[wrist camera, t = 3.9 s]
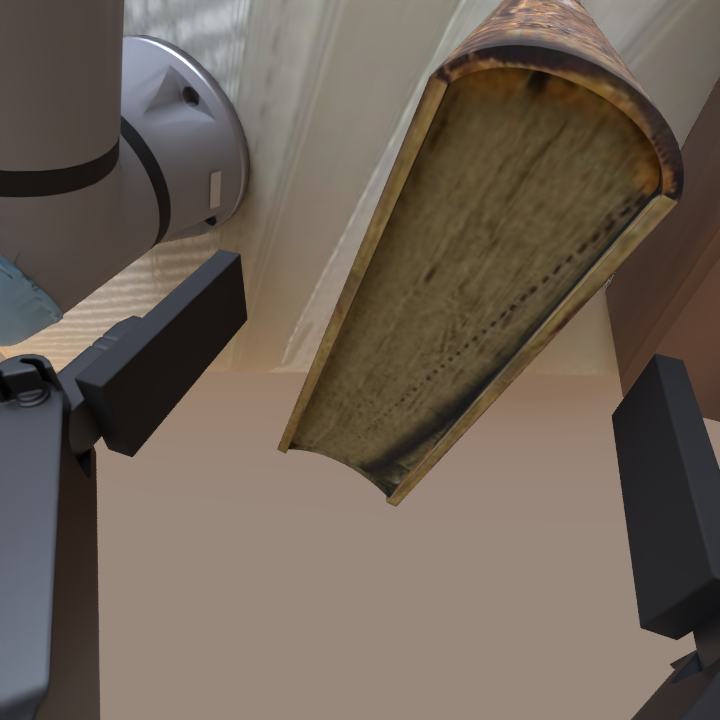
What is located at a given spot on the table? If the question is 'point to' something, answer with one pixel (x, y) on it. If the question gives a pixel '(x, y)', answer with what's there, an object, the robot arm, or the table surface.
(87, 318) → the table surface
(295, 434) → the book
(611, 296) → the shelf
